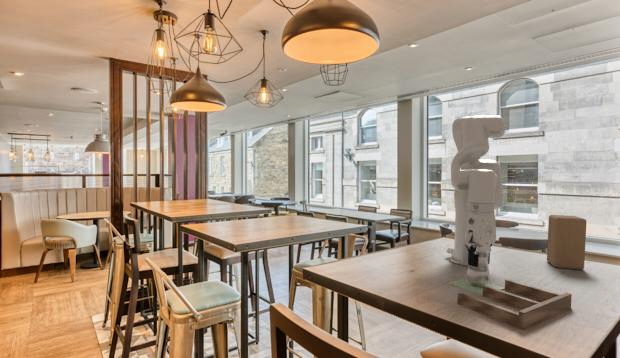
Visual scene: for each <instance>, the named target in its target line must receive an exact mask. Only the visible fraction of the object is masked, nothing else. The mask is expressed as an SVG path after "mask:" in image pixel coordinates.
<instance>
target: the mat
mask: <svg viewBox="0 0 620 358" xmlns="http://www.w3.org/2000/svg"><path fill="white" fill-rule="evenodd" d="M447 284H448V285H451V286H453V287H458V288H460V289H463V290H465V291H469V292H471V293H475V294H476V295H477V294H478V295H481V296H483V286H489V287H492V288H495V289H498V290H501V291H504V290H506V289H505V286H504V287H503V286H499V285H498V284H497V285H496V284H493V283H490V282H488V283H487V284H486V285H476V284H472V283H470V282H469V281H468V279H467V277H466V278H461V279H458V280H457V279H456V280H454V281H450V282H447Z"/></svg>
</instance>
